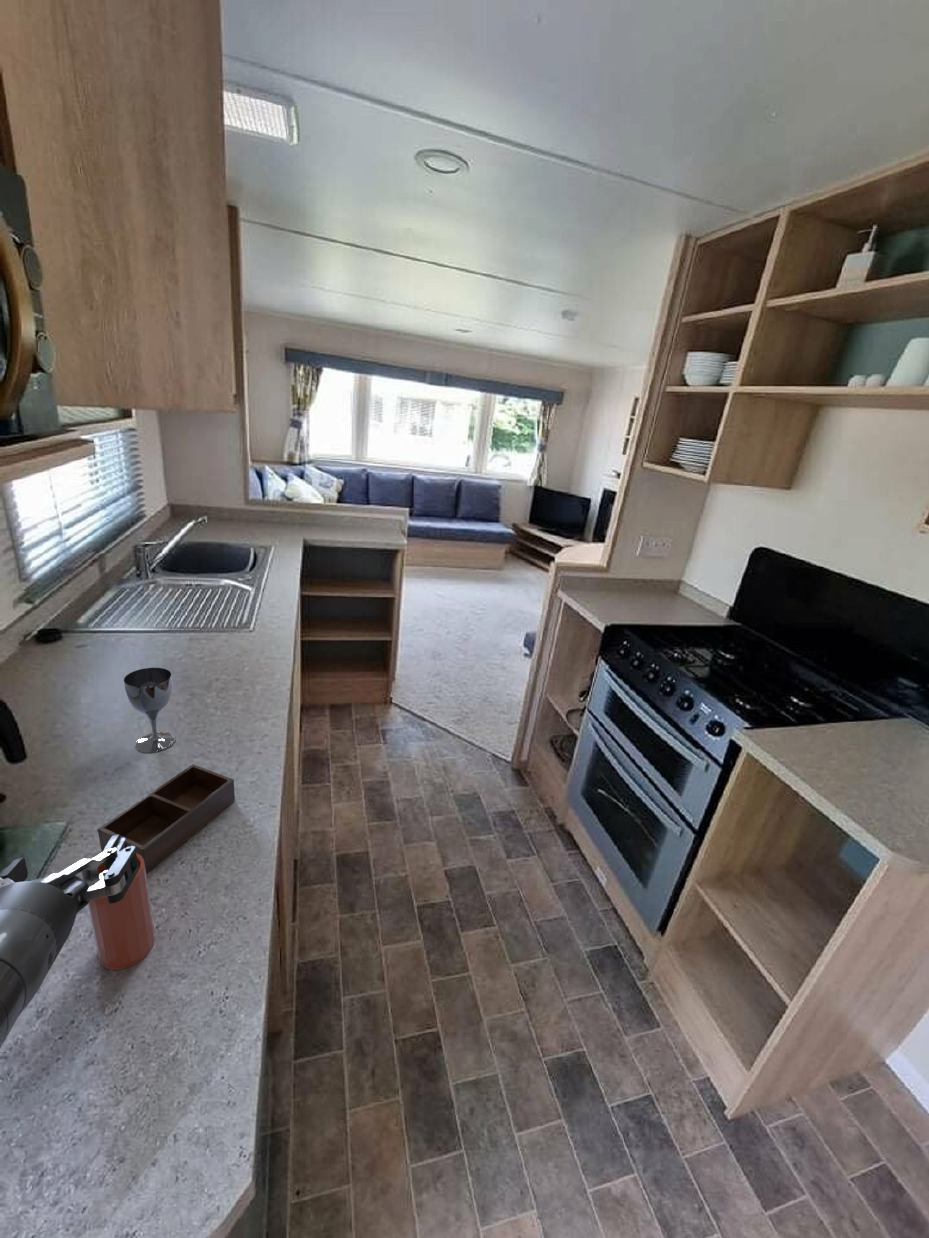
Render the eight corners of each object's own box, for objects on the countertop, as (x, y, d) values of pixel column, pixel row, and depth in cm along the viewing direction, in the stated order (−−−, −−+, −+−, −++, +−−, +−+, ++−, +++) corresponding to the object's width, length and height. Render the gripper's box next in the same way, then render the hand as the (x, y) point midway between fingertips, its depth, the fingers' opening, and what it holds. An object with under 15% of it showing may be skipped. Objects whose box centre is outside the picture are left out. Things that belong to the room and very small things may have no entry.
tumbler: (87, 958, 64) (71, 880, 60) (131, 918, 70) (119, 845, 65) (123, 978, 63) (109, 899, 58) (165, 936, 68) (155, 861, 63)
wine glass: (168, 726, 110) (161, 663, 105) (184, 743, 105) (178, 678, 100) (126, 740, 104) (117, 674, 99) (141, 759, 100) (132, 691, 94)
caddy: (101, 852, 79) (97, 829, 77) (194, 784, 95) (192, 763, 93) (146, 873, 76) (143, 850, 75) (235, 800, 92) (233, 779, 91)
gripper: (95, 884, 41) (142, 803, 56) (-142, 948, 36) (-21, 840, 51) (112, 969, 42) (154, 867, 57) (-117, 1043, 37) (-5, 909, 52)
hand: (71, 854), depth 54 cm, fingers open, 8 cm apart
